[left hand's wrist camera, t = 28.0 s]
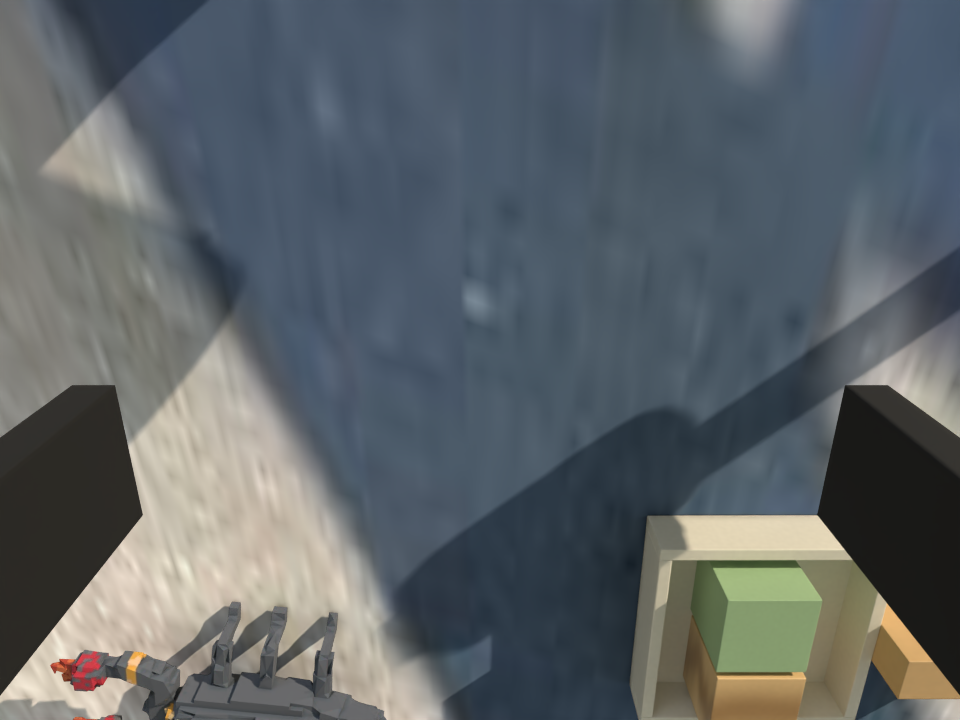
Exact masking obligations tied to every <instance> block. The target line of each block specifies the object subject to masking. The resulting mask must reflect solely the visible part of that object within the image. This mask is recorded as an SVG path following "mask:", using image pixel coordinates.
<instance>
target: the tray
mask: <svg viewBox="0 0 960 720" xmlns="http://www.w3.org/2000/svg"><path fill="white" fill-rule="evenodd" d="M697 560H796V561H797V563H798V564H799V566H800V567H801V569H802V570H803V572H804V573H805V575H806V576H807V578H808V579H809V581H810V582H811V584H812V585H813V587H814V588H815V590H816V591H817V593H818V594H819V596H820V597H821V599H822V605H821V610H820V614H819V618H818V622H817V627H816V631H815V635H814V640H813V644H812V648H811V653H810V657H809V661H808V666H807V670H806V672H803V674H804V675H805V677H806V682H805V686H804V691H803V695H802V699H801V704H800V708H799V712H798V716H797V720H855V717H856V714H857V710H858V707H859V703H860V700H861V696H862V692H863V689H864V685H865V681H866V678H867V674H868V670H869V667H870V663H871V661H872V662H873V663H874V665H875V666H876V668H877V669H878V671H879V672H880V674H881V675H882V677H883V678H884V679H885V681H886V682H887V684H888V685H889V687H890V688H891V690H892V691H893V693H894V694H895V696H896V697H897V698H898V699H960V695H959V694H958V693H957V691H956V690H955V689H954V688H953V686H952V685H951V684H950V683H949V681H948V680H947V679H946V677H945V676H944V675H943V674H942V672H941V671H940V670H939V669H938V667H937V666H936V665H935V664H934V662H933V661H932V660H931V658H930V657H929V656H928V655H927V653H926V652H925V651H924V650H923V648H922V647H921V646H920V645H919V643H918V642H917V641H916V639H915V638H914V637H913V636H912V634H911V633H910V632H909V631H908V629H907V628H906V627H905V626H904V624H903V623H902V622H901V620H900V619H899V618H898V617H897V615H896V614H895V613H894V612H893V610H892V609H891V608H890V607H889V605H888V604H887V603H886V601H885V600H884V599H883V598H882V596H881V595H880V594H879V593H878V591H877V590H876V589H875V588H874V586H873V585H872V584H871V583H870V581H869V580H868V579H867V577H866V576H865V575H864V574H863V572H862V571H861V570H860V569H859V567H858V566H857V565H856V564H855V562H854V561H853V560H852V558H851V557H850V556H849V555H848V553H847V552H846V551H845V550H844V548H843V547H842V546H841V545H840V543H839V542H838V541H837V539H836V538H835V537H834V536H833V534H832V533H831V532H830V531H829V529H828V528H827V527H826V526H825V524H824V523H823V522H822V520H821V519H820V518H819V517H818V515H799V516H647V524H646V534H645V544H644V553H643V562H642V572H641V581H640V591H639V600H638V609H637V619H636V628H635V638H634V647H633V656H632V666H631V675H630V688H631V692H632V696H633V700H634V704H635V707H636V711H637V715H638V719H639V720H698V717H697V715H696V712H695V709H694V706H693V703H692V700H691V697H690V694H689V692H688V689H687V686H686V683H685V680H684V677H683V671H684V664H685V657H686V650H687V643H688V636H689V629H690V623H691V616H692V615H693V614H692V611H691V609H690V608H691V601H692V594H693V587H694V580H695V573H696V566H697Z"/></svg>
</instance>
